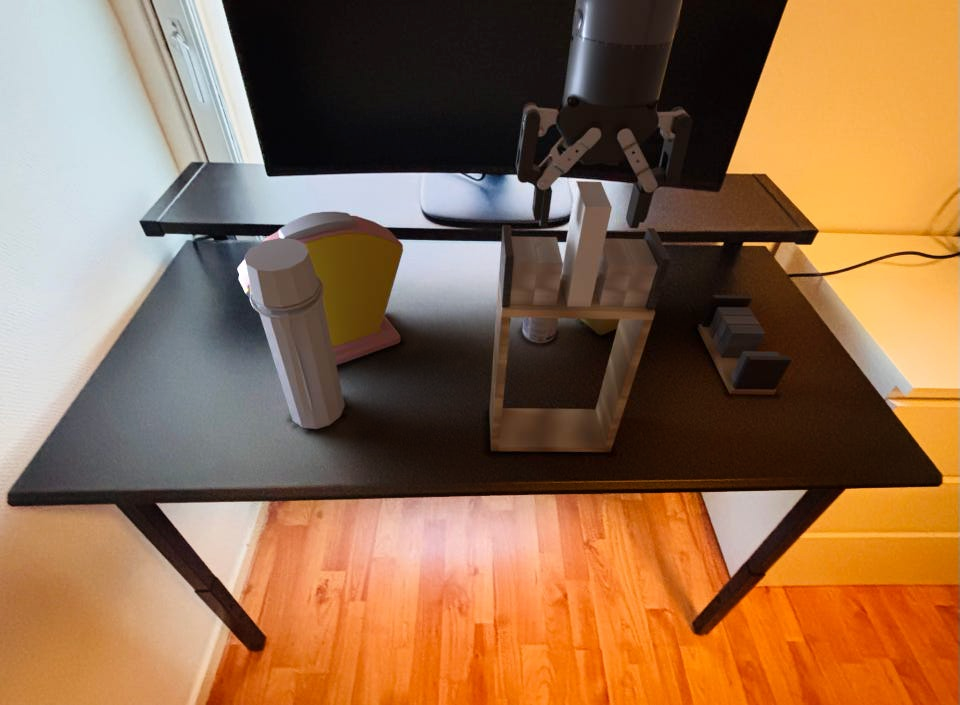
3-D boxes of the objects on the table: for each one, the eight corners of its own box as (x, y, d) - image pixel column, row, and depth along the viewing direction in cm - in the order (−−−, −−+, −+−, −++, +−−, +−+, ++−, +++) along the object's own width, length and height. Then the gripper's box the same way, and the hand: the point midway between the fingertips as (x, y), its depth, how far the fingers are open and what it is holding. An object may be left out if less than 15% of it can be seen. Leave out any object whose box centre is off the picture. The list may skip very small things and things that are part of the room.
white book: (582, 278, 58) (601, 181, 51) (590, 307, 54) (612, 207, 47) (560, 277, 58) (576, 180, 51) (567, 306, 54) (584, 206, 47)
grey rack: (774, 394, 78) (794, 359, 73) (729, 394, 78) (747, 359, 73) (736, 329, 89) (751, 295, 85) (697, 328, 89) (710, 294, 84)
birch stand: (601, 413, 74) (637, 283, 59) (610, 452, 69) (653, 320, 55) (489, 412, 74) (498, 280, 59) (490, 451, 69) (501, 317, 54)
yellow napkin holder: (392, 307, 90) (380, 187, 76) (417, 338, 85) (409, 214, 70) (260, 350, 81) (218, 223, 67) (277, 388, 76) (236, 257, 61)
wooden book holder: (637, 283, 59) (653, 226, 55) (653, 320, 55) (672, 261, 50) (498, 280, 59) (502, 223, 54) (501, 317, 54) (505, 258, 49)
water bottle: (291, 395, 75) (243, 237, 58) (348, 389, 76) (318, 233, 59) (284, 447, 68) (228, 286, 51) (347, 440, 69) (312, 281, 52)
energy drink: (555, 324, 88) (565, 263, 80) (554, 345, 85) (565, 283, 76) (523, 321, 89) (530, 259, 81) (521, 342, 85) (528, 279, 77)
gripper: (700, 21, 43) (650, 207, 54) (524, 14, 42) (510, 203, 53) (735, 43, 37) (671, 245, 48) (533, 36, 37) (514, 242, 48)
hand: (586, 223), depth 51 cm, fingers open, 8 cm apart
